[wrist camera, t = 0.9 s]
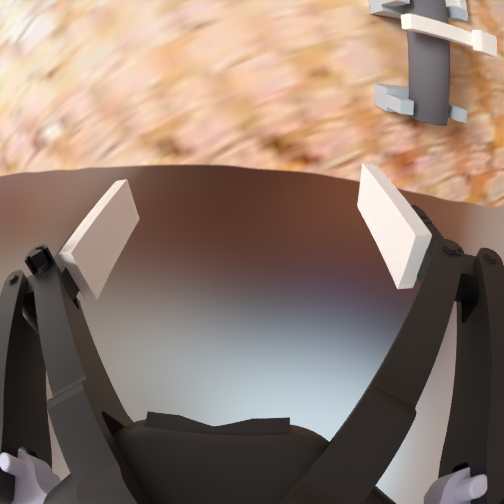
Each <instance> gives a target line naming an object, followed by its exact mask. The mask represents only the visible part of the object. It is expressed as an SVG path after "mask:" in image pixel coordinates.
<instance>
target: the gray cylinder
mask: <svg viewBox="0 0 504 504" xmlns="http://www.w3.org/2000/svg"><path fill="white" fill-rule="evenodd" d="M409 1H410V3H409V4H405V13H406V14H414V15H418V16H422V17H426V18H430V19H433V20H436V21H440V22H443V23H446V24H448V18H447V9H446V1H445V0H409ZM407 37H408V57H409V99H410V100H412V101H414V108H413V115H408V116H409V117H411V118H413V119H415V120H418V121H421V122H425V123H429V124H434V125H442V126H444V125H447V120H448V107H449V90H450V46H449V41H448V40H445V39H442V38H438V37H434V36H430V35H427V34H422V33H418V32H414V31H409V30H407Z"/></svg>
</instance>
